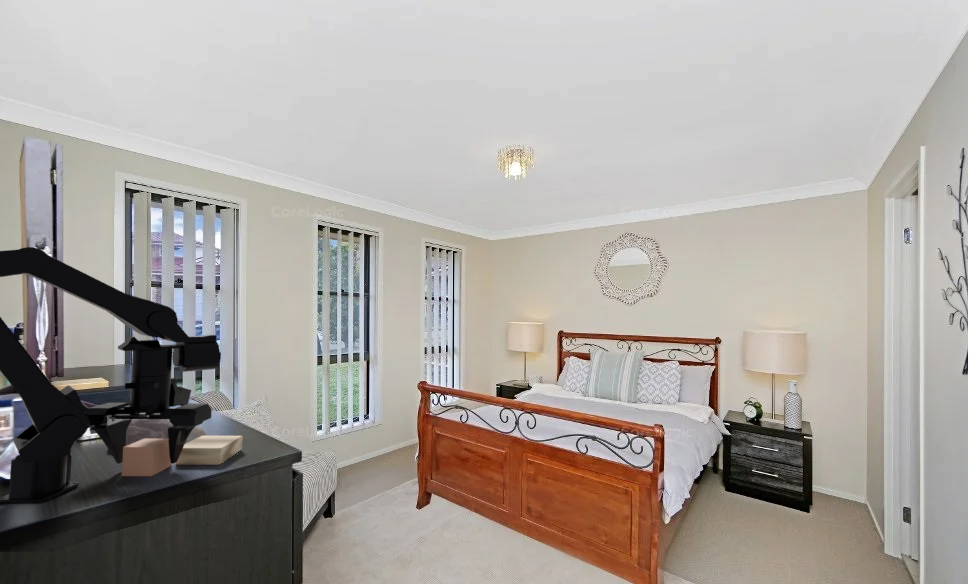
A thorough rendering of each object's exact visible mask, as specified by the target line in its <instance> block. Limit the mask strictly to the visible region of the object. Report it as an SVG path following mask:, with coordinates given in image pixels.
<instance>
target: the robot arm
mask: <svg viewBox="0 0 969 584" xmlns="http://www.w3.org/2000/svg"><path fill="white" fill-rule="evenodd" d="M18 275H19V276H20V275H27V276H30V277H32V278H34V279H36V280H38V281H41V282H42V283H45V284H46V285H49V286H51V287H54V288H56V289H58V290H60V291H62V292H65V293H67V294H68V295H71V296H73V297H76V298H78V299H79V300H81V301H84V302H87V304H91V305H93V306H94V307H96V308H99V309H102V310H103V311H105V312H107V313H108V314H110V315H112V316H113V317H114V318H116V319H117V320H118V321H120V322H121V323H122V324H123V325H125V326H127V327H128V328H129V329H131V330H132V331H134V332H135V333H137V334H139V335H142V336H146V337H152V338H159V339H161V340H163V341H168V342H174V343H175V344H161V342H160V341H159V340H158V339H148V340H145V339H143V340H141V339H140V340H139V339H137V338H136V337H135V336H129V337H128V338H127V339H126V340H125V341H124V342H122V343H121V344H120V345H118V346H117V349H118V350H120V351H123V352H132V354H131V355H132V357H131V373H130V374H131V376H130V381H127V382H125V383H124V389H125V390H126V389H127V390H129V389H130V395H129V397H130V398H129V402H105V403H101V404H99V405H94V406H92V407H88V406H87V405H86V404H85V403H83V402H82V400H81V399H80V397H79V394H78V392H77V390H76V389H75V388H73V387H72V386H70V385H67V386H65V387H64V388H62V389H60V390H59V389H58V388H57V387H56V386H54V384H53V383H52V382H51V381H50V380H49V378H48V377H47V376H46V375H45V374H44V371H42V369H41V368H40V367H39V365H38V364H37V363H36V361H35V360H34V359H33V358H32V356H31V355H30V354H29V352H28V351H27V349H25V347H24V346H23V344H22V343H21V341H20V340H19V339H18V338H17V336H16V334H14V333H13V331H12V330H11V329H10V328H9V327H8V325H7V324H6V322H5V321H4V320H3V318H2V317H1V316H0V373H1V374H2V375H3V377H5V379H6V380H7V381H8V383H10V385H11V386H12V387H13V389H14V390H15V391H16V392H17V394H18V395H19V397H20V399H21V402H22V403H23V405H24V408H25V410H26V412H27V414H28V417H29V419H30V421H31V423H32V424H30V425H29V426H28V427H27V428H25V429H24V430H23V431H22V432H20V433H19V434H18V435H17V436H15V437H14V438H13V439H12V442H13V444H14V445H15V448H16V450H17V452H18V454H17V455H16V456H15V458H13V459H11V460H10V472H9V473H10V475H9V486H8V487H9V490H8V494H5V495H4V496H0V503H43V502H45V501H47V500H50V499H52V498H54V497H57V496H59V495H61V494H62V493H65V492H67V491H70V490H72V489H74V488H77V487H78V486H79V485H80V484H79V481H71V477H72V476H71V473H72V471H71V470H72V455H71V451H72V450H71V449H72V447H73V446H74V443H75V442H77V440H79V439H80V438H82V437H83V436H84V435H85V434H86V433H87V432H88V429H89V430H90V431H94V432H95V433H96V434H97V435H98V437H99V438H100V439H101V441H102V442H103V443H104V445H105V446H106V448H107V450H108V449H109V450H108V452H110V454H111V456H112V458H113V459H114V461H115V462H116V464H121V463H122V461H123V447H125V446H126V431H127V428H128V426H129V424H130V422H131V421H132V419H170V422H171V423H172V424H173V426H172V427H169V428H168V440H169V456H170V461H171V465H174V464H176V462H177V460H178V458H179V456H180V454H181V451H182V449H183V447H184V444H185V442H186V440H187V438H188V436H189V434H190V433H191V431H192V430H193V429H194V428H195V426H198V425H199V426H200V425H202V424H203V423H204V422H205V421H208V420H210V419H212V410H213V409H212V408H211V406H210V405H209V404H208V403H199V402H198V403H196V402H195V403H193V402H192V403H189V401H190V398H191V394H192V389H189V388H185V387H182V386H177V385H178V384H177V383H178V382H177V379H176V377H172V364H173V366H174V367H175V368H177V367H178V368H179V371H180V372H182V373H186V372H196V371H197V372H199V371H207V370H217V369H218V368H219V366H220V363H221V360H222V359H221V358H222V357H221V356H222V353H221V351H220V346H219V343H218V341H217V334H216V335H215V334H204V335H193V336H192V335H191V336H190V335H188V334H187V333H186V331H185V330H184V329H183V328H182V327H181V326H180V325H179V323H178V321H179V320H178V316H177V312H176V311H175V310H174V309H173V308H171V307H170V306H167V305H164V304H161V303H159V302H156V301H151V300H149V299H145V298H142V297H139V296H135V295H131V294H129V293H125V292H123V291H121V290H119V289H117V288H116V287H113V286H112V285H109V284H107V283H105V282H103V281H102V280H99V279H97V278H95V277H93V276H90V275H89V274H87V273H86V272H83V271H81V270H79V269H77V268H74V267H73V266H72V265H69V264H67V263H65V262H62V261H61V260H59V259H57V258H55V257H53V256H51V255H49V254H47V253H46V252H45V251H44V250H42V249H40V248H37V247H34V246H33V247H31V246H27V247H21V248H19V249H9V250H0V278H3V277H10V276H18ZM177 406H178V407H177ZM171 407H173V408H171ZM174 407H175V408H174ZM140 413H146V414H140ZM155 413H156V414H155ZM158 413H159V414H158Z"/></svg>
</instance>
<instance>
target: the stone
mask: <svg viewBox="0 0 969 584" xmlns="http://www.w3.org/2000/svg"><path fill="white" fill-rule="evenodd" d="M140 414H146V413H140ZM155 414H156V413H155ZM158 414H159V413H158ZM172 426H173V424H172V423H171V422H170V419H132V421H131V422H130V424H129V426H128V428H127V431H126V446H127V445H130V444H132V443H135V442H137V441H140V440H142V439H168V428H169V427H172ZM200 436H208V435H207V433H206V430H205V429H204V428H203V427H202V426H200V425H198V426H195V428H194V429H193V430H192V431H191V433H190V434H189V436H188V438H187V440H186V442H185V444H186V443H188V442H190V441H192V440H194V439H196V438H198V437H200ZM107 450H108V451H109V449H108V448H107Z"/></svg>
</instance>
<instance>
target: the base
mask: <svg viewBox="0 0 969 584" xmlns="http://www.w3.org/2000/svg"><path fill="white" fill-rule="evenodd" d="M241 449H242V450H243V435H207V436H200V437H198V438H196V439H194V440H192V441H190V442H188V443H186V444H184V447H183V449H182V451H181V454H180V456H179V458H178V460H177V462H176V463H175V465H181V466H182V465H189V466H190V465H201V466H203V465H205V466H206V465H211V466H212V465H219V464H220V465H222V464H224V463H225V462H227V461H228V460H229V459H228V458H230V457H231V456H233V455H234V454H236V453H237V452H238V451H240V450H241ZM237 454H238V453H237ZM237 454H236V455H237ZM234 456H235V455H234ZM234 456H233V457H234ZM231 458H232V457H231ZM231 458H230V459H231ZM227 459H228V460H227ZM226 460H227V461H226ZM224 461H225V462H224ZM221 463H222V464H221Z"/></svg>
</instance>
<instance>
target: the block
mask: <svg viewBox="0 0 969 584" xmlns="http://www.w3.org/2000/svg"><path fill="white" fill-rule="evenodd" d="M171 466H172V464H171V461H170V456H169V440H168V439H142V440H140V441H137V442H135V443H132V444H130V445H127V446H125V447H123V461H122V464H121V477H152V476H155V475H157V474H158V473H160V472H162V471H164V470H166V469H168V468H169V467H171Z"/></svg>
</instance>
